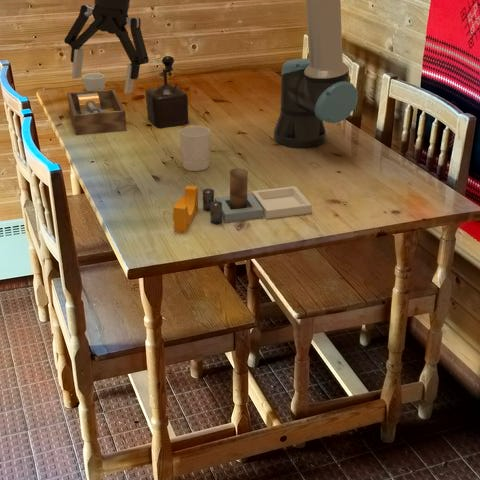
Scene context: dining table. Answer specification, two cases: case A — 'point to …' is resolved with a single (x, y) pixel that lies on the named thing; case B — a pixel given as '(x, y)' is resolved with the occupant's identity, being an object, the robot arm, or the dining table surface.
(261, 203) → the tray
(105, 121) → the tool caddy
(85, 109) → the vise
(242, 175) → the dowel
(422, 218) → the dining table surface
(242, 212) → the jig block
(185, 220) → the pipe clamp
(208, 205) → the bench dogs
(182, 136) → the white cup
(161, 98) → the coffee grinder
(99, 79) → the teacup
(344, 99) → the robot arm
